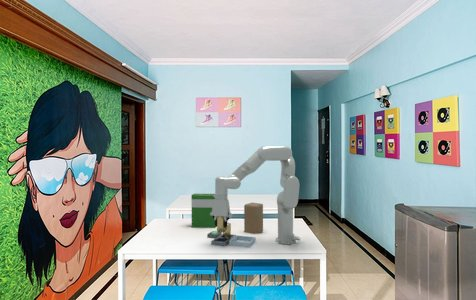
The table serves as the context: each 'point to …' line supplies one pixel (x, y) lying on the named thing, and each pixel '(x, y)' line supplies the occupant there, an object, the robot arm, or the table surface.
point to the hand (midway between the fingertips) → (221, 226)
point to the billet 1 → (220, 224)
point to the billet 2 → (227, 231)
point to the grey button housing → (213, 235)
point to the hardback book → (202, 211)
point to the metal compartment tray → (221, 240)
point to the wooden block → (253, 218)
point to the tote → (242, 244)
